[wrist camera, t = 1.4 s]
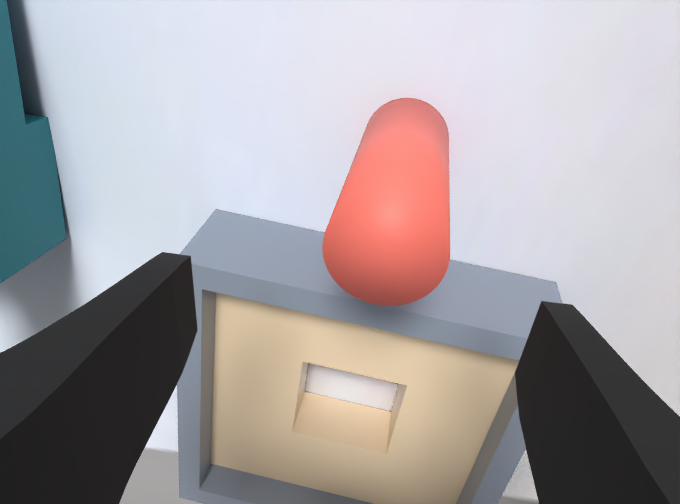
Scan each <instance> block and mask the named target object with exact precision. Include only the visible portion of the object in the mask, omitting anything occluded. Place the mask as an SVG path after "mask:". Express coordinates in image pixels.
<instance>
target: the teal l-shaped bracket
mask: <svg viewBox="0 0 680 504" xmlns="http://www.w3.org/2000/svg"><path fill="white" fill-rule="evenodd" d="M64 239H66V232H65V224H64V217H63V209H62V202H61V194H60V187H59V179H58V172H57V164H56V157H55V151H54V146H53V141H52V136H51V131H50V126H49V120H48V117H42V116H36V115H29V114H24V109H23V102H22V96H21V89H20V83H19V76H18V70H17V63H16V57H15V51H14V44H13V38H12V31H11V25H10V18H9V12H8V5H7V0H0V283H1V282H3V281H4V280H6V279H7V278H9V277H10V276H12V275H13V274H15V273H16V272H17V271H19V270H20V269H22V268H23V267H25V266H26V265H28V264H29V263H31V262H32V261H34V260H35V259H37V258H38V257H40V256H41V255H42V254H44V253H45V252H47V251H48V250H50V249H51V248H53V247H54V246H56V245H57V244H59V243H60V242H62V241H63V240H64Z"/></svg>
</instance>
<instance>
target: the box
mask: <svg viewBox="0 0 680 504" xmlns="http://www.w3.org/2000/svg"><path fill="white" fill-rule="evenodd" d="M324 234H325V233H323V232H319V231H314V230H309V229H305V228H300V227H295V226H291V225H286V224H282V223H277V222H272V221H268V220H263V219H258V218H254V217H249V216H244V215H240V214H235V213H230V212H226V211H221V210H217V209H216V210H215V211H214V212H213V214H212V215H211V216H210V217H209V219H208V220H207V221H206V222H205V223H204V225H203V226H202V227H201V228H200V230H199V231H198V232H197V233H196V235H195V236H194V237H193V238H192V240H191V241H190V242H189V243H188V245H187V246H186V247H185V248H184V250H183V251H182V252H181V253H180V255H188V256H191V263H192V274H193V285H194V296H195V307H196V318H197V329H198V330H197V333H196V336H195V339H194V342H193V345H192V348H191V351H190V354H189V357H188V359H187V362H186V365H185V367H184V370H183V373H182V375H181V377H180V379H179V381H178V383H177V398H178V450H179V496H180V498H184V499H188V500H192V501H196V502H200V503H204V504H497V503H498V501H499V499H500V498H501V496H502V494H503V492H504V490H505V488H506V486H507V484H508V482H509V480H510V478H511V476H512V474H513V472H514V470H515V468H516V466H517V464H518V463H519V461H520V459H521V457H522V455H523V453H524V451H525V449H526V446H525V441H524V437H523V433H522V428H521V424H520V419H519V411H518V402H517V391H516V379H515V371H516V368H517V366H518V363H519V360H520V357H521V355H522V352H523V349H524V347H525V344H526V341H527V339H528V336H529V333H530V330H531V328H532V325H533V322H534V320H535V317H536V314H537V311H538V309H539V306H540V303H541V301H546V302H554V303H562V300H561V297H560V294H559V291H558V287H557V284H556V282H551V281H546V280H542V279H537V278H532V277H528V276H523V275H519V274H514V273H509V272H505V271H500V270H495V269H491V268H486V267H481V266H477V265H472V264H467V263H463V262H458V261H453V260H450V261H449V265H448V269H447V272H446V274H445V276H444V278H443V279H442V281H441V282H440V284H439V285H438V286H437V287H436V288H435V289H434V290H433V291H432V292H430V293H429V294H428V295H426V296H425V297H423V298H421V299H419V300H417V301H414V302H411V303H408V304H404V305H397V306H383V305H376V304H371V303H368V302H365V301H362V300H360V299H358V298H356V297H354V296H352V295H350V294H349V293H347V292H346V291H345V290H343V289H342V288H341V287H340V286H339V285H338V284H337V283H336V282H335V281H334V279H333V278H332V276H331V275H330V273H329V271H328V270H327V267H326V265H325V262H324V258H323V250H322V246H323V238H324ZM309 363H311V364H316V365H320V366H324V367H329V368H333V369H337V370H342V371H346V372H350V373H355V374H359V375H363V376H368V377H372V378H376V379H381V380H385V381H389V382H394V383H398V384H399V387H398V390H397V394H396V397H395V400H394V404H393V407H392V411H391V412H390V411H385V410H381V409H377V408H372V407H368V406H364V405H360V404H355V403H351V402H347V401H343V400H338V399H334V398H330V397H326V396H321V395H317V394H313V393H309V392H304V390H305V383H306V377H307V371H308V365H309Z"/></svg>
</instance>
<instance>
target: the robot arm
mask: <svg viewBox="0 0 680 504" xmlns="http://www.w3.org/2000/svg"><path fill="white" fill-rule="evenodd" d="M197 330H198V329H197V318H196V307H195V296H194V285H193V274H192V263H191V256H188V255H180V254H172V253H164V252H162V253H160V254H159V255H157V256H156V257H154V258H152V259H151V260H149V261H148V262H146V263H145V264H144V265H142V266H141V267H139V268H138V269H136V270H135V271H133V272H132V273H131V274H129V275H128V276H126V277H125V278H123V279H122V280H120V281H119V282H117V283H116V284H114V285H113V286H111V287H110V288H108V289H107V290H106V291H104V292H103V293H101V294H100V295H98V296H97V297H95V298H94V299H92V300H91V301H89V302H88V303H86V304H84V305H83V306H81V307H80V308H78V309H76V310H75V311H73V312H71V313H70V314H68V315H67V316H65V317H63V318H62V319H60V320H58V321H57V322H55V323H53V324H52V325H50V326H48V327H47V328H45V329H43V330H42V331H40V332H39V333H37V334H35V335H33V336H32V337H30V338H28V339H26V340H24V341H22V342H21V343H19V344H17V345H15V346H13V347H11V348H9V349H7V350H5V351H4V352H2V353H0V504H119V502H120V500H121V497H122V495H123V492H124V489H125V487H126V485H127V482H128V480H129V478H130V476H131V474H132V472H133V469H134V467H135V465H136V463H137V461H138V459H139V457H140V455H141V453H142V451H143V450H144V448H145V446H146V444H147V442H148V440H149V438H150V436H151V434H152V432H153V430H154V428H155V426H156V424H157V422H158V420H159V418H160V416H161V414H162V412H163V411H164V409H165V407H166V405H167V403H168V401H169V399H170V397H171V395H172V393H173V391H174V389H175V387H176V385H177V383H178V381H179V379H180V377H181V375H182V373H183V370H184V367H185V365H186V362H187V359H188V357H189V354H190V351H191V348H192V345H193V342H194V339H195V336H196V333H197ZM515 379H516V391H517V402H518V411H519V419H520V424H521V428H522V433H523V437H524V441H525V446H526V450H527V454H528V458H529V463H530V467H531V471H532V475H533V479H534V484H535V488H536V492H537V496H538V500H539V504H680V417H679V416H678V415H677V414H676V413H675V412H674V411H673V410H672V409H671V408H670V407H669V406H668V405H667V404H666V403H665V402H664V401H663V400H662V399H661V398H660V397H659V396H658V395H657V394H656V393H655V392H654V391H653V390H652V389H651V388H650V387H649V386H648V385H647V384H646V383H645V382H644V381H643V380H642V379H641V378H640V377H639V376H638V375H637V374H636V373H635V372H634V371H633V370H632V369H631V368H630V367H629V365H628V364H627V363H626V362H625V361H624V360H623V359H622V358H621V357H620V356H619V355H618V354H617V353H616V351H615V350H614V349H613V348H612V347H611V346H610V345H609V344H608V343H607V342H606V340H605V339H604V338H603V337H602V336H601V335H600V334H599V333H598V332H597V331H596V329H595V328H594V327H593V326H592V325H591V324H590V323H589V322H588V321H587V320H586V319H585V317H584V316H583V315H582V314H581V313H580V312H579V311H578V310H577V309H576V308H575V307H574V306H573V305H570V304H562V303H554V302H546V301H541V303H540V306H539V309H538V311H537V314H536V317H535V320H534V322H533V325H532V328H531V330H530V333H529V336H528V339H527V341H526V344H525V347H524V349H523V352H522V355H521V357H520V360H519V363H518V366H517V368H516V371H515Z"/></svg>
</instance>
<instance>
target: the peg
mask: <svg viewBox="0 0 680 504" xmlns="http://www.w3.org/2000/svg"><path fill="white" fill-rule="evenodd" d="M322 250H323V258H324V262H325V265H326V267H327V270H328V271H329V273H330V275H331V276H332V278H333V279H334V281H335V282H336V283H337V284H338V285H339V286H340V287H341V288H342V289H343V290H345V291H346V292H347V293H349V294H350V295H352V296H354V297H356V298H358V299H360V300H362V301H365V302H368V303H371V304H376V305H383V306H397V305H404V304H408V303H411V302H414V301H417V300H419V299H421V298H423V297H425V296H426V295H428V294H429V293H430V292H432V291H433V290H434V289H435V288H436V287H437V286H438V285H439V284H440V282H441V281H442V279H443V278H444V276H445V274H446V272H447V269H448V265H449V261H450V205H449V135H448V129H447V125H446V123H445V121H444V119H443V117H442V116H441V114H440V113H439V112H438V111H437V110H436V109H435V108H434V107H433V106H431V105H430V104H428V103H426V102H424V101H421V100H418V99H413V98H401V99H396V100H393V101H390V102H388V103H386V104H384V105H383V106H381V107H380V108H379V109H378V110H377V111H376V112H375V113H374V114H373V115H372V117H371V118H370V120H369V122H368V124H367V127H366V130H365V132H364V135H363V137H362V140H361V142H360V145H359V147H358V150H357V152H356V155H355V158H354V160H353V163H352V165H351V168H350V170H349V173H348V175H347V178H346V180H345V183H344V186H343V188H342V191H341V193H340V196H339V198H338V201H337V203H336V206H335V208H334V211H333V214H332V216H331V219H330V221H329V224H328V226H327V229H326V231H325V234H324V238H323V246H322Z"/></svg>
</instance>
